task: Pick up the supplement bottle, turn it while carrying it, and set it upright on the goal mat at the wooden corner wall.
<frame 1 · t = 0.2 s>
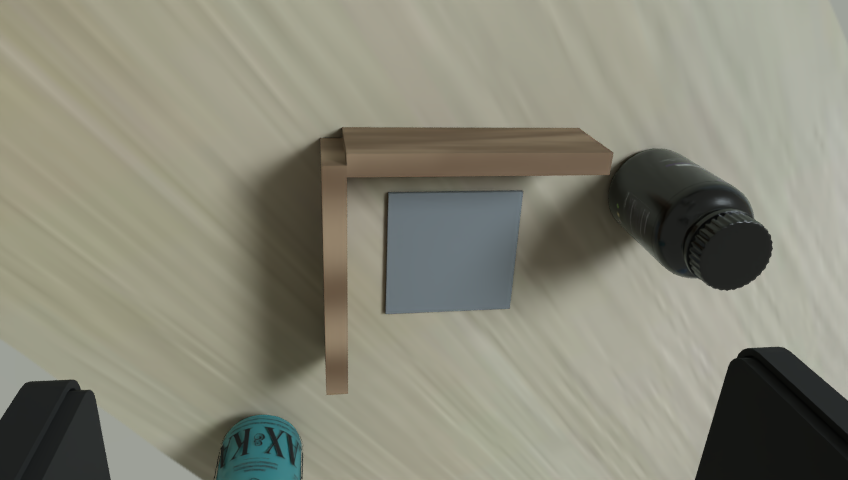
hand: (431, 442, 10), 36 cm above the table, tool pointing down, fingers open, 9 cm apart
supplement bottle: (645, 187, 50), on the table
goal mat: (451, 252, 50), on the table
wooden corner wall: (331, 138, 45), on the table
beverage bottle: (262, 429, 54), on the table
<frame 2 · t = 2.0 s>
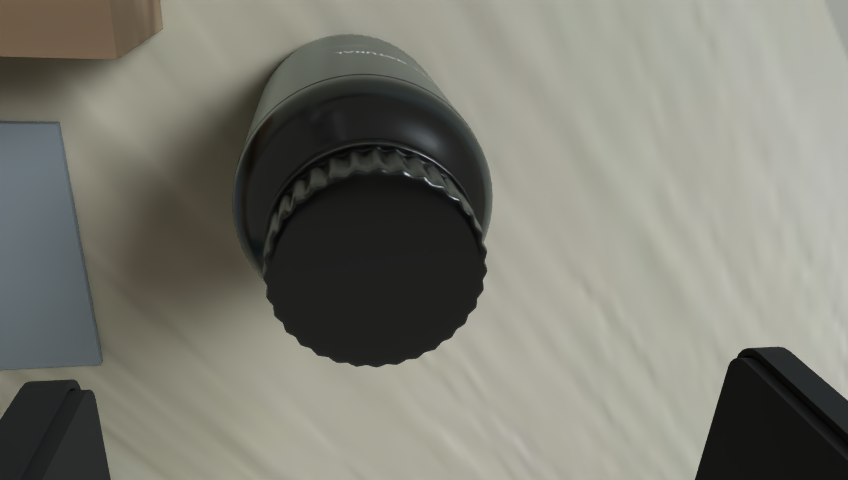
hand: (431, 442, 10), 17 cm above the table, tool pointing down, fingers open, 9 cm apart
supplement bottle: (348, 123, 24), on the table
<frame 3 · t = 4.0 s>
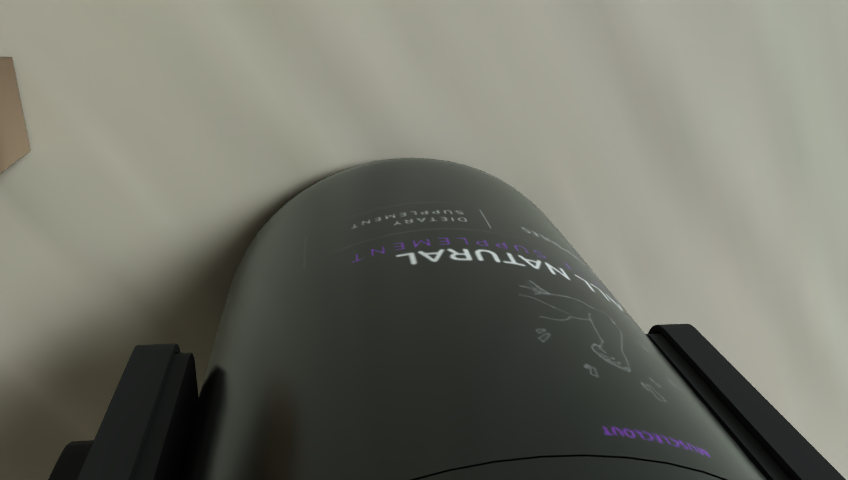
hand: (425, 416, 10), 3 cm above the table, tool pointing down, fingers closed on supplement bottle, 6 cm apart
supplement bottle: (398, 305, 13), on the table, touching gripper
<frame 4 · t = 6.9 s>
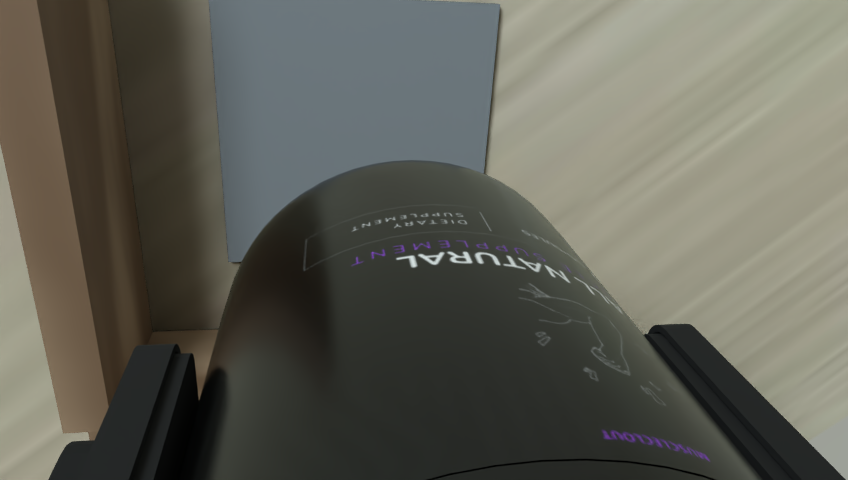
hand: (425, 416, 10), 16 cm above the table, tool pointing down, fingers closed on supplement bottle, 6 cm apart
supplement bottle: (398, 307, 13), point 13 cm above the table, touching gripper
goal mat: (357, 137, 25), on the table
wooden corner wall: (135, 347, 27), on the table
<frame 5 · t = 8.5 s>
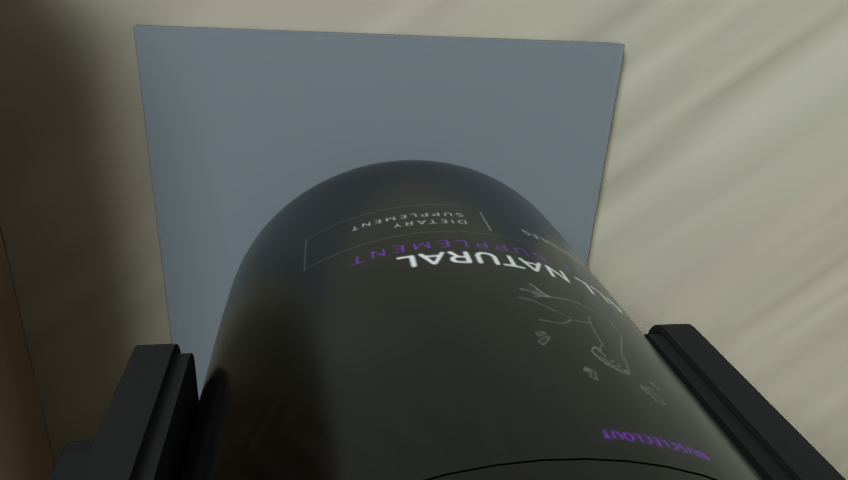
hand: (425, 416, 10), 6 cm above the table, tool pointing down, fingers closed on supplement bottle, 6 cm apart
supplement bottle: (398, 306, 13), point 3 cm above the table, touching gripper
goal mat: (385, 252, 15), on the table
when the fingers open (5 cm above the table, at t = 9.7 s): supplement bottle drops 1 cm, resting on goal mat.
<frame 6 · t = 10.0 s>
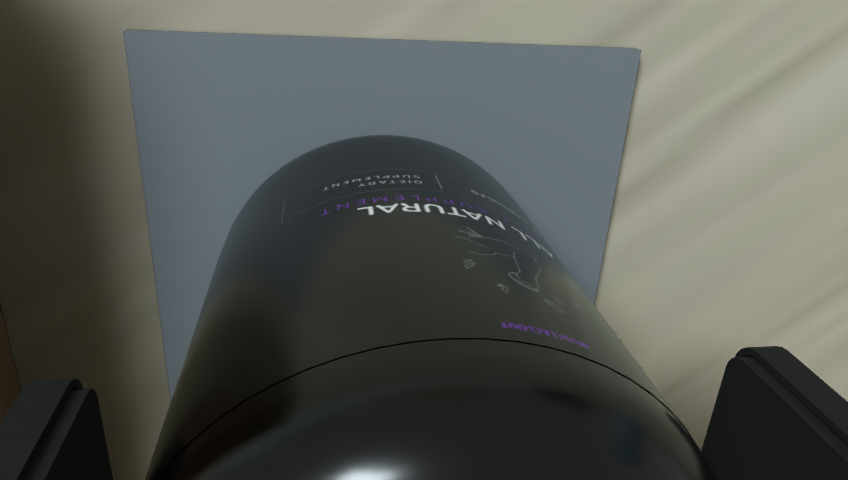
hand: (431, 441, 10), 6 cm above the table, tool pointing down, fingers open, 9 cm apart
supplement bottle: (375, 270, 15), resting on goal mat
goal mat: (389, 266, 15), on the table
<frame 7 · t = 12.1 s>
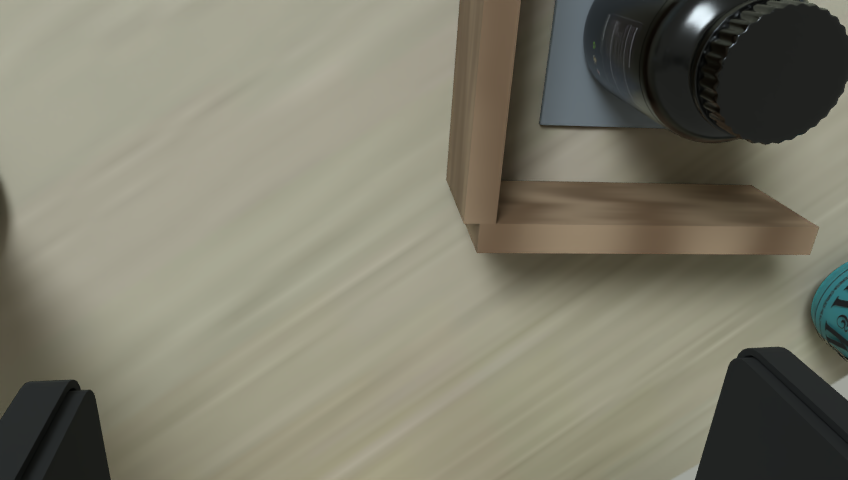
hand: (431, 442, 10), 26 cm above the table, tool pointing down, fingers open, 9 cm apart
supplement bottle: (642, 30, 33), resting on goal mat
goal mat: (647, 29, 33), on the table
wooden corner wall: (458, 192, 36), on the table
beverage bottle: (838, 286, 41), on the table
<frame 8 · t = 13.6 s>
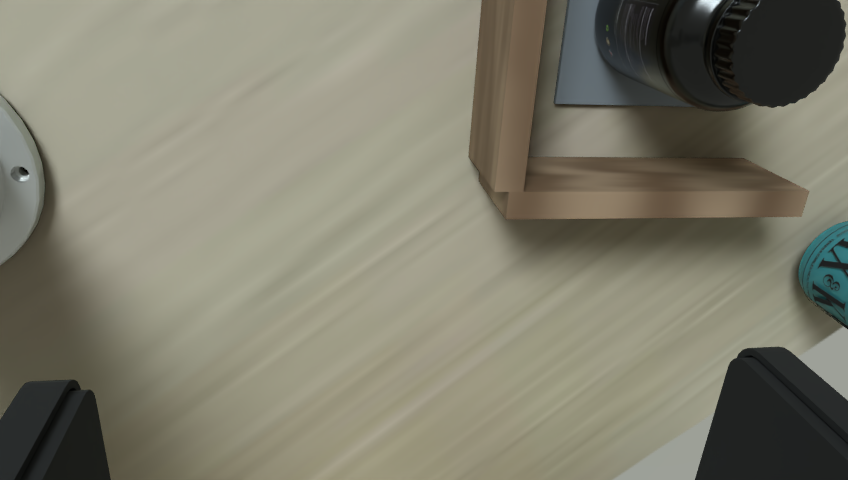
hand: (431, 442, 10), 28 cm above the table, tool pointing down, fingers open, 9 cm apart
supplement bottle: (646, 15, 36), resting on goal mat
goal mat: (651, 14, 36), on the table
wooden corner wall: (479, 168, 38), on the table
beverage bottle: (821, 251, 45), on the table
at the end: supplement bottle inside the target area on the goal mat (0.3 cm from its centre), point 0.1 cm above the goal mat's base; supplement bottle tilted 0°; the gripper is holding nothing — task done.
